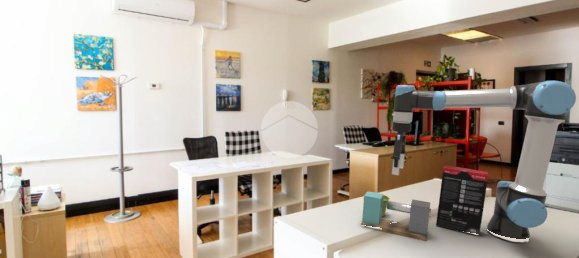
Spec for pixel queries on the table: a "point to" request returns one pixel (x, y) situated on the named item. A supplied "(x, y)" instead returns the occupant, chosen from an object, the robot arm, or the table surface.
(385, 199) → the plant pot
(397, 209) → the steel tube
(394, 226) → the walnut board
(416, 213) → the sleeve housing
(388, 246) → the table surface
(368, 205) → the teal socket block
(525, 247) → the table surface
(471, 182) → the graphics card box
